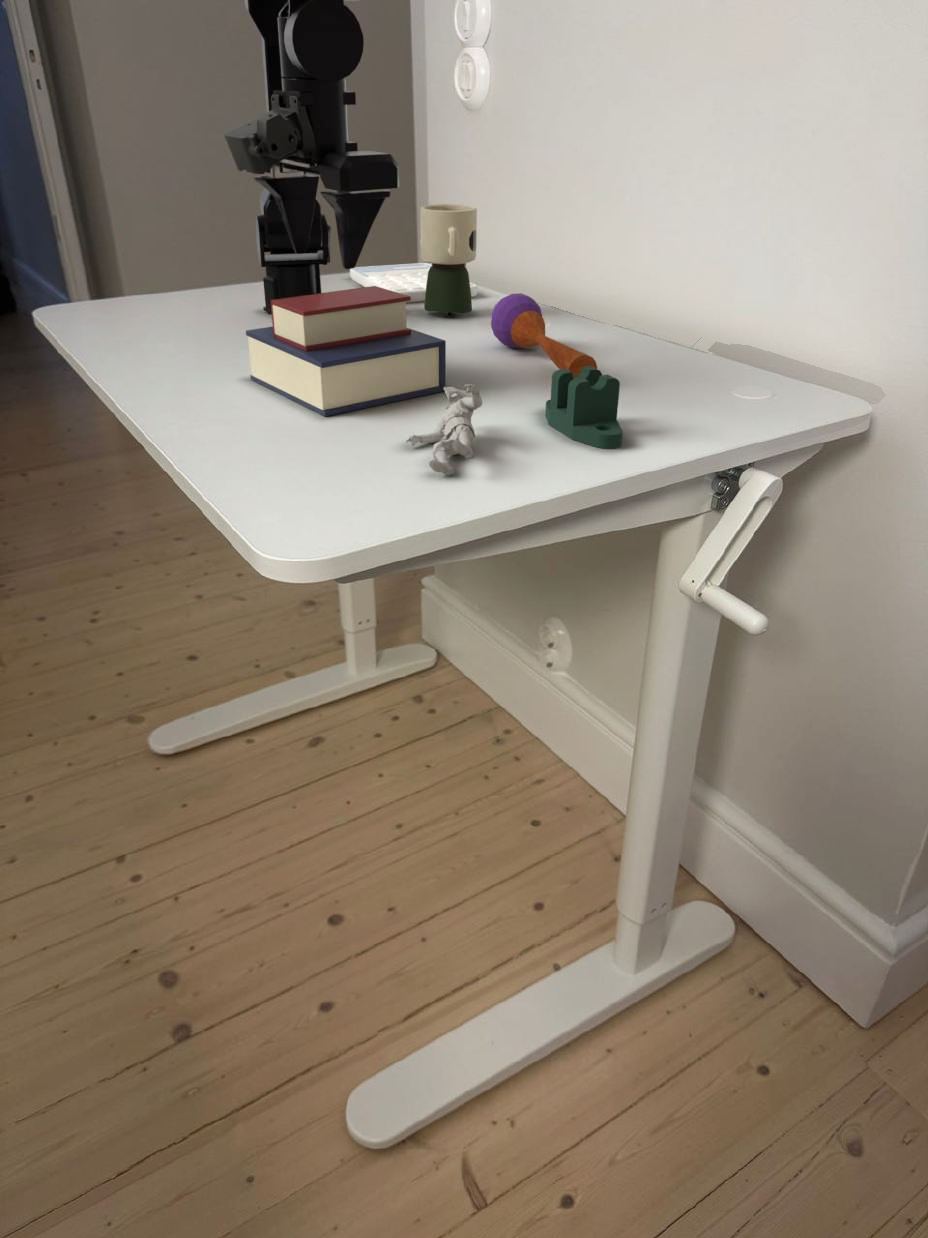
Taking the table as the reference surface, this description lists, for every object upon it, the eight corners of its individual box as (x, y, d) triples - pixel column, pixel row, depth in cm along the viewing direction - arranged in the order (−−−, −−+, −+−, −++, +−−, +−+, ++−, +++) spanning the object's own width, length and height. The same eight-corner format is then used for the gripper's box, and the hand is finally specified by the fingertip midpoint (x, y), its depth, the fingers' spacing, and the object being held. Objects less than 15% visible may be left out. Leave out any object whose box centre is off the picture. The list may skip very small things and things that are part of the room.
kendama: (553, 350, 94) (480, 294, 110) (558, 406, 98) (486, 344, 113) (607, 335, 95) (527, 281, 111) (610, 390, 99) (532, 331, 114)
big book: (364, 358, 106) (363, 312, 103) (445, 390, 96) (445, 340, 93) (250, 379, 98) (245, 330, 96) (325, 416, 88) (321, 362, 86)
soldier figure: (402, 486, 76) (396, 398, 84) (444, 517, 79) (435, 428, 87) (472, 428, 73) (459, 341, 81) (514, 462, 75) (498, 374, 83)
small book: (376, 321, 100) (374, 285, 98) (411, 333, 96) (410, 296, 94) (273, 337, 93) (270, 299, 92) (306, 351, 89) (303, 311, 87)
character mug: (481, 322, 122) (483, 212, 115) (425, 324, 121) (425, 213, 114) (468, 304, 131) (470, 201, 124) (417, 305, 130) (415, 202, 123)
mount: (531, 414, 90) (534, 360, 87) (573, 408, 91) (576, 356, 89) (591, 451, 81) (596, 393, 79) (636, 444, 83) (642, 387, 80)
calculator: (391, 304, 130) (390, 290, 129) (347, 278, 146) (347, 265, 145) (480, 297, 135) (480, 283, 134) (428, 272, 151) (428, 260, 150)
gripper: (185, 75, 88) (206, 254, 96) (284, 82, 75) (299, 287, 83) (292, 75, 94) (303, 243, 102) (401, 81, 81) (404, 273, 89)
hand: (323, 260), depth 94 cm, fingers open, 9 cm apart
